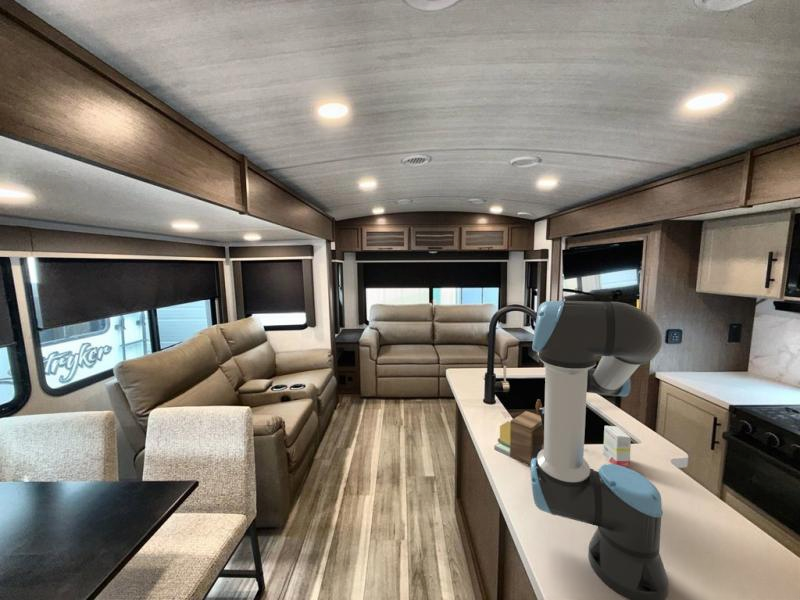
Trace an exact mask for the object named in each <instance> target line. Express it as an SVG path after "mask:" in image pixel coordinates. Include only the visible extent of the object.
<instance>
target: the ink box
mask: <svg viewBox="0 0 800 600" xmlns="http://www.w3.org/2000/svg"><path fill="white" fill-rule="evenodd" d="M631 443H632V437H631V436H629V435H628V434H627V433H626V432H625V431H624V430H622V429H621V428H620V427H618V426H616V425H615V426H613V425H604V430H603V449H602V450H603V452H602V453H603V454H602V455H603V457H605V459H607V460H608V461H609V462H610V464H615V465H619V466H623V467H626V468H628V469H630V466H631V463H630V462H631Z"/></svg>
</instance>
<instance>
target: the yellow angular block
mask: <svg viewBox="0 0 800 600" xmlns="http://www.w3.org/2000/svg"><path fill="white" fill-rule="evenodd" d="M510 423H511V421H508V420H507V421H506V422H504V423H503V424H501V425H500V426H499V438H497V442H498V443H499V442H500V443H502V444H505V445H507V446H509V447H510ZM542 449H544V444H542ZM542 449H541V448H538V447H536V446H533V457H534V458H537V455H538V453H539V452H540V451H541V450H542Z"/></svg>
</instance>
